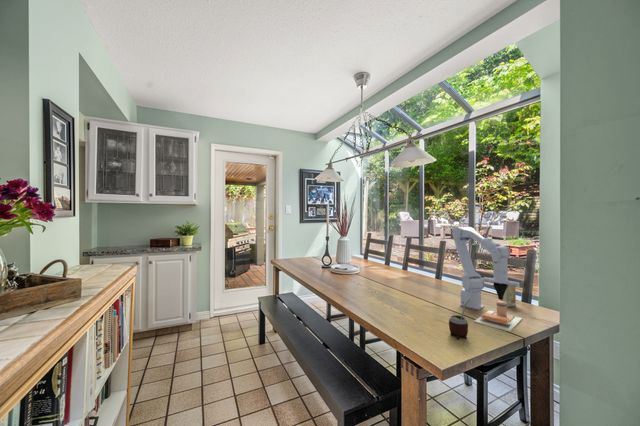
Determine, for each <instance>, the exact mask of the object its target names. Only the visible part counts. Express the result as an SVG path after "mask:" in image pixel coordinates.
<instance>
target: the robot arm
mask: <svg viewBox="0 0 640 426" xmlns="http://www.w3.org/2000/svg"><path fill="white" fill-rule="evenodd" d="M451 235H452V237H453V240H454V245H455V248H456V251H457V253H458V254H457V255H458V257H459V261H460V263H461V267H462V269H463V274H462V275H461V285H462V288H461V291H460V304H459V305H460V306H462V307H464V305H465V303H466V302H467V301H468V300H469V302H468V303H467V304H466V308H470V309H473V310H478V311H480V310H481V309H482V308H484V307H485V305H483V304H482V291H483V289H484V288H485V283H490V284H492V286H493V288H494V290H495V292H496V295H497V297H498V300H499V301H500V300H503V297H504V293H505V291H506V289H507V287H508V285H509V286H515V287H516V288H520V287H521V286H520V282H518V281H514V280H513V281H512V280H509V279H508V276H509V269H508V267H509V266H508V261H509V260H508V258H509V257H510V256H511V249H510V248H509V247H508V246H507V245H501V243H499V242H496V241H494V240H493V238H491V237H484V236H482V235H481V234H480V233H479V232H478V231H476V229H475V228H473V227H472V226H455V227H454V228H453V229H452V232H451ZM471 239H472V240H474V241H475V242H476V243H479V244H480V246H481V248H483V249H484V250H485V251H487V252H488V253H489V254H490V256H491V260H492V264H493V265H492V267H493V268H492V269H493V273H492V274H493V277H486V276H484V277H481V274H480V273H478V271H477V272H476V270H475V266H474V263H473V261H472V258H471V254H470V251H469V249H468V246H467V243H469V242H470V241H471Z"/></svg>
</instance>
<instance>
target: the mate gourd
mask: <svg viewBox="0 0 640 426" xmlns="http://www.w3.org/2000/svg"><path fill="white" fill-rule="evenodd" d="M468 302H469V300H468V301H467V302H466V303H465V305H464V306H463V309H462V313H461V315H459V314H457V315H456V314H454V315H453V314H452V315H451V316H450V317H449V320H448V326H449V331H450V336H452V337H456V340H460V338H462V339H468V333H469V323H468V320H467V319H466V318H465V317H464V315H465V311H466V308H467V307H466V304H467V303H468Z"/></svg>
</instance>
